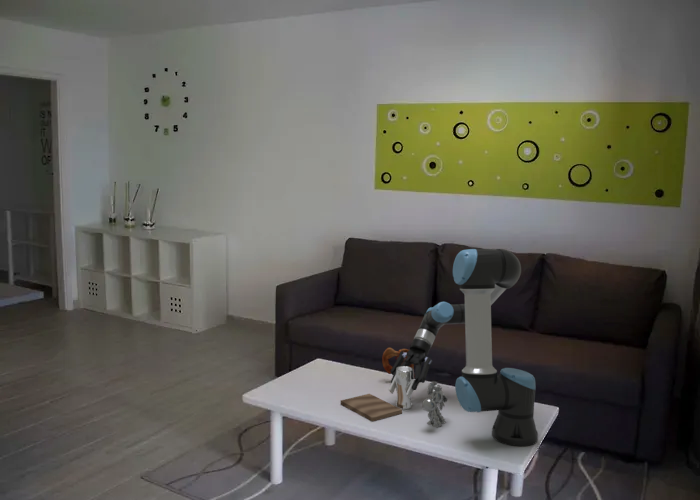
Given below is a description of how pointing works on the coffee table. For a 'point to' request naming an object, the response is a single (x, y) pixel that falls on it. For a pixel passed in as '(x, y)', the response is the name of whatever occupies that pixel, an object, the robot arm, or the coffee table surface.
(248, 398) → the coffee table surface
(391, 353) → the mug
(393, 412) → the serving board
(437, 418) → the robot toy
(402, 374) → the beer glass
